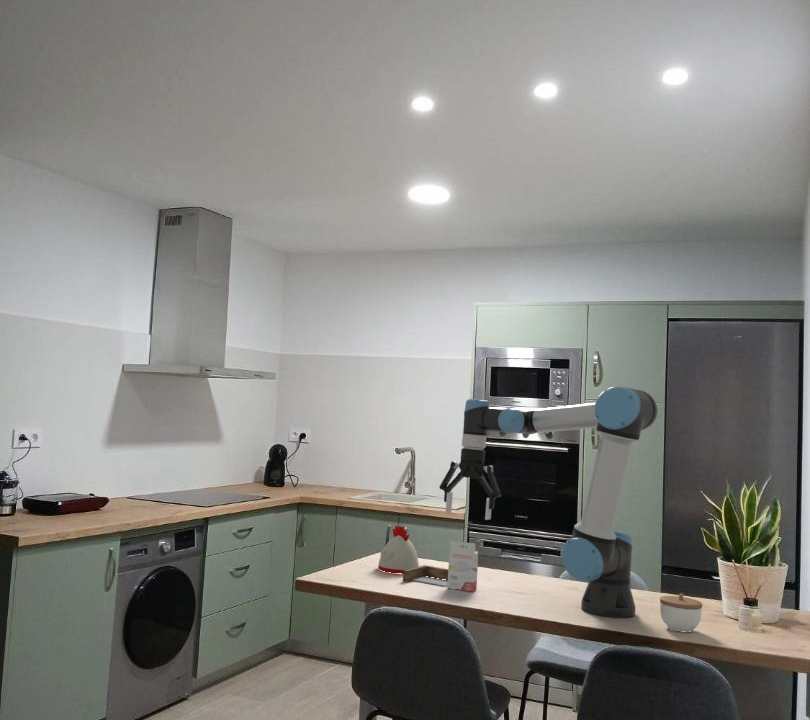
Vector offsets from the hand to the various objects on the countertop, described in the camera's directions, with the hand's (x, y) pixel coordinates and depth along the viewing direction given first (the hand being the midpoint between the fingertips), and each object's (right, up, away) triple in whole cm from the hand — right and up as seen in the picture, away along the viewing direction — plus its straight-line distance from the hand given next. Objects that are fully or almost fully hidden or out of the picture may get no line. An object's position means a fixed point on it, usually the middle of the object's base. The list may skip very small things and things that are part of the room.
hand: (467, 516), depth 238 cm
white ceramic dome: (-22, -23, +22) cm, 39 cm away
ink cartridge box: (-2, -23, -1) cm, 23 cm away
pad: (-10, -23, +7) cm, 26 cm away
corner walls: (-9, -22, +5) cm, 25 cm away
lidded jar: (+54, -24, -34) cm, 68 cm away
